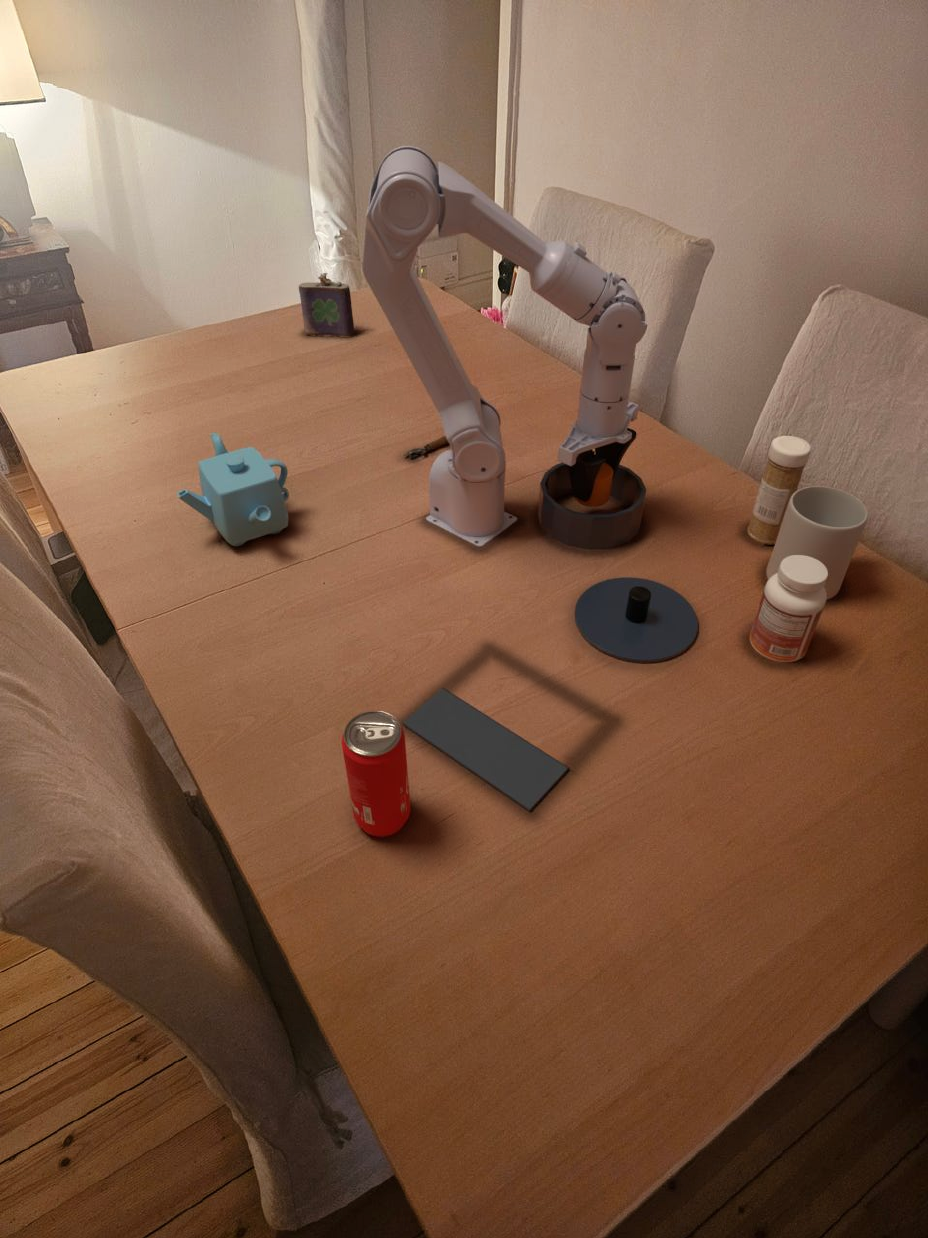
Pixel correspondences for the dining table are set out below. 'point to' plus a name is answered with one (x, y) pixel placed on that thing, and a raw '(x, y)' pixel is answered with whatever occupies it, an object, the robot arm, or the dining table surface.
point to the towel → (486, 748)
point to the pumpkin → (600, 487)
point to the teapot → (240, 493)
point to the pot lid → (636, 620)
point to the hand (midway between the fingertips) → (592, 489)
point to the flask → (326, 308)
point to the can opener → (428, 447)
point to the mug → (821, 531)
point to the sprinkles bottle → (778, 486)
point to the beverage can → (377, 772)
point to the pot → (588, 527)
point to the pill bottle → (790, 609)
